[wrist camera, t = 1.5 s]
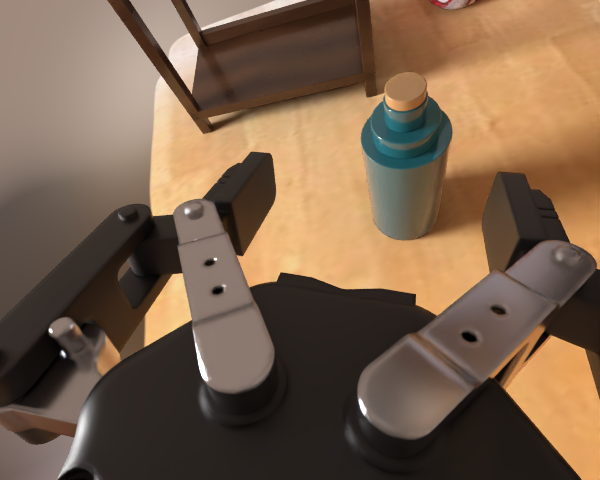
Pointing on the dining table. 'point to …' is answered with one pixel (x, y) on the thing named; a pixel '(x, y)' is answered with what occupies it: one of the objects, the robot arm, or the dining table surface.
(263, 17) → the rack
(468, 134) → the dining table surface
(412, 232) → the bottle
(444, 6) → the soda can
